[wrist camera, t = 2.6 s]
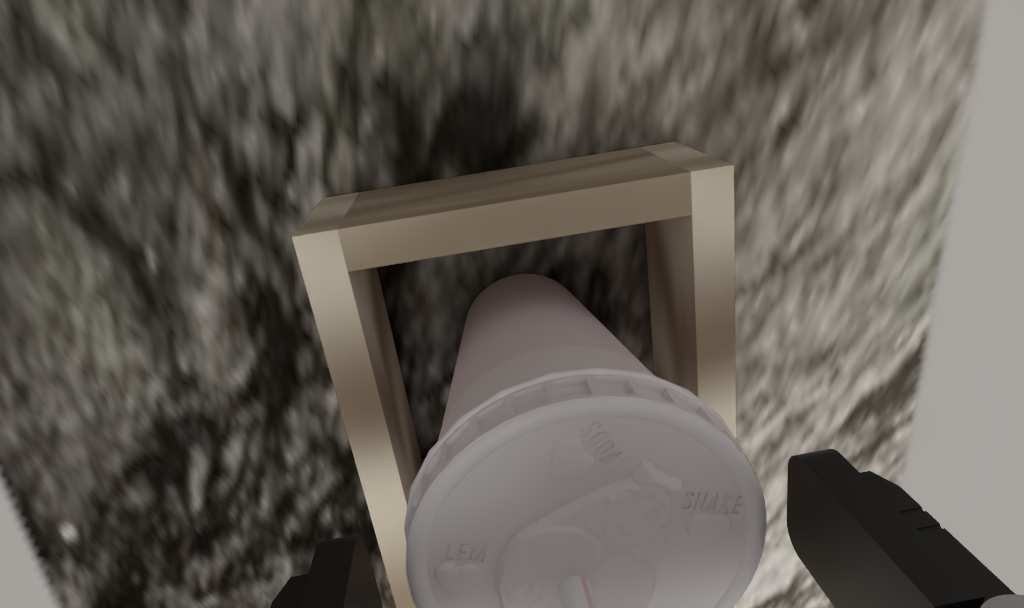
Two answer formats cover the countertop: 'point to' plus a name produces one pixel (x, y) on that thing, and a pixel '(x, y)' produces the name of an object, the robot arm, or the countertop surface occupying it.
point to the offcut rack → (500, 222)
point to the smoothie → (575, 473)
